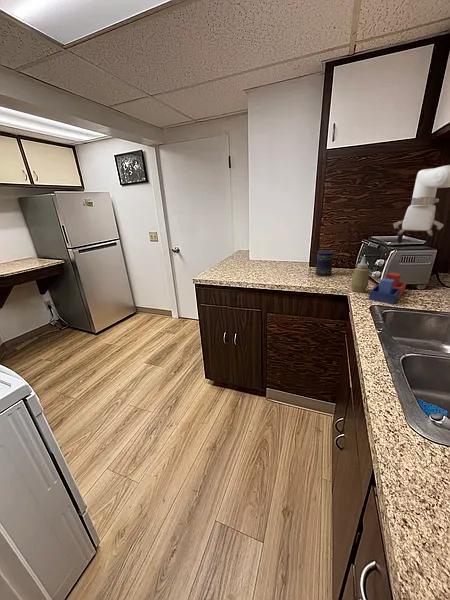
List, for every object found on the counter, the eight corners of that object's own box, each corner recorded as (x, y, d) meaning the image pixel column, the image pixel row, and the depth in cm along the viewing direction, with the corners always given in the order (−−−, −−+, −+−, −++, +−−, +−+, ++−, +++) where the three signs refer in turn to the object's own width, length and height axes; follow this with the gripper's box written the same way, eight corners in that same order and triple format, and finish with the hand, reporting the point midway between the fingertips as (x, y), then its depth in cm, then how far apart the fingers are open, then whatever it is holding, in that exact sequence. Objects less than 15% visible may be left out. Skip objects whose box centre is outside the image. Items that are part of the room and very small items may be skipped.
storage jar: (319, 271, 169) (321, 249, 164) (333, 273, 163) (336, 251, 157) (312, 274, 163) (314, 252, 157) (327, 277, 156) (329, 253, 151)
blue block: (391, 297, 119) (394, 279, 116) (388, 300, 116) (392, 282, 113) (379, 295, 123) (383, 277, 119) (376, 298, 119) (380, 280, 116)
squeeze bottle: (349, 287, 136) (353, 255, 130) (365, 288, 134) (371, 255, 127) (351, 292, 129) (356, 258, 123) (368, 293, 127) (374, 258, 120)
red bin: (404, 291, 128) (406, 282, 126) (399, 296, 121) (401, 288, 119) (382, 287, 134) (383, 279, 133) (376, 292, 128) (378, 284, 126)
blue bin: (398, 298, 120) (400, 289, 118) (393, 304, 113) (395, 295, 111) (375, 293, 126) (376, 285, 125) (368, 299, 120) (370, 290, 118)
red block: (397, 290, 127) (401, 273, 124) (395, 293, 124) (398, 276, 121) (386, 288, 131) (390, 272, 127) (384, 291, 128) (387, 274, 124)
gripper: (450, 201, 99) (439, 244, 105) (399, 202, 111) (392, 241, 117) (448, 201, 94) (436, 246, 100) (395, 203, 106) (387, 243, 112)
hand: (412, 243), depth 109 cm, fingers open, 9 cm apart
